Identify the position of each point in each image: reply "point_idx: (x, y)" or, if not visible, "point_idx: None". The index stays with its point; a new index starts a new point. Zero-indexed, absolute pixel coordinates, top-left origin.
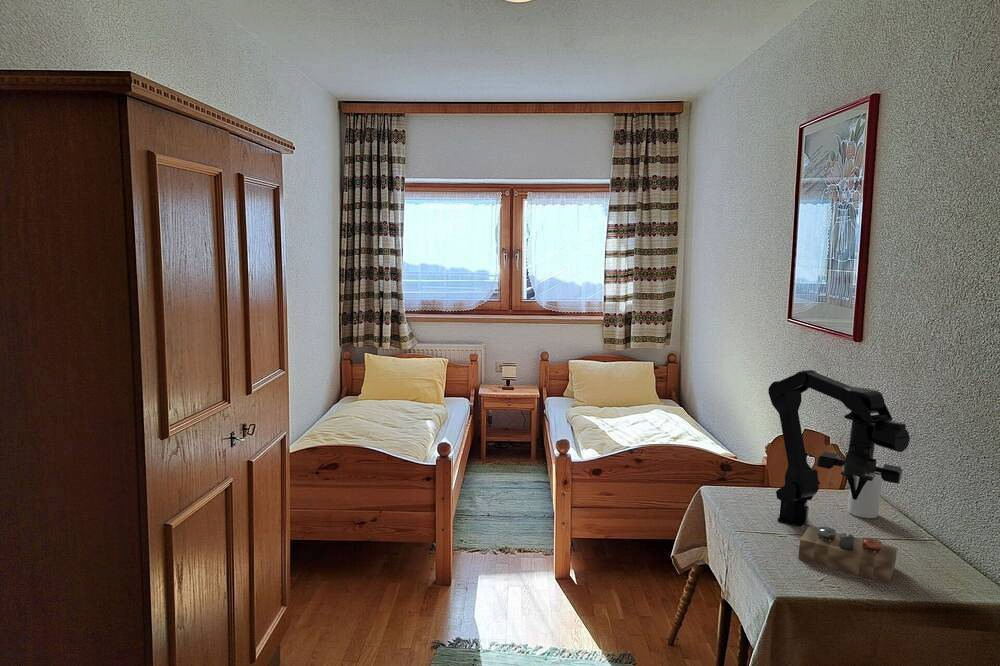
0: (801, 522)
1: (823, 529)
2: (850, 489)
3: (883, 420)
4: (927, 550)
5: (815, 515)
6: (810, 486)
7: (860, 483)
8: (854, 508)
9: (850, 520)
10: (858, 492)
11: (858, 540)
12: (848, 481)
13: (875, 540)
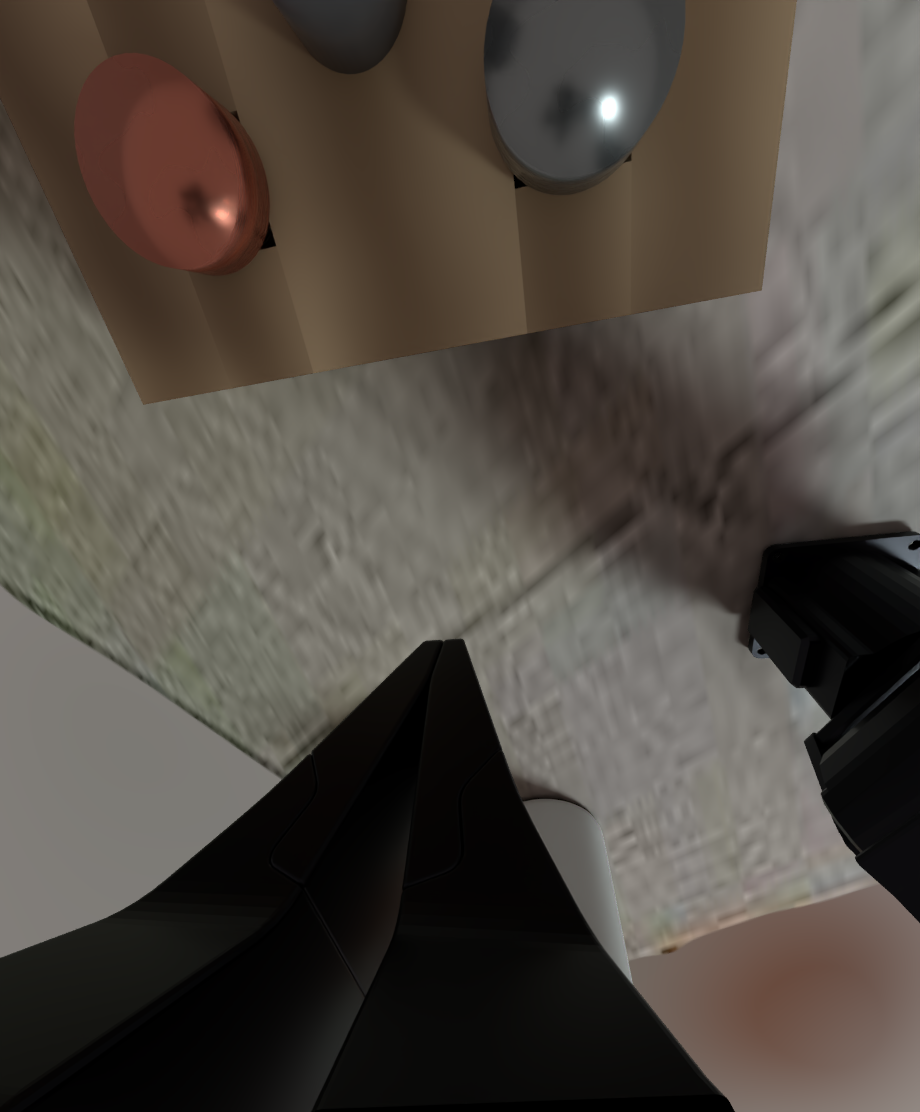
0: (777, 580)
1: (621, 20)
2: (618, 932)
3: None
4: (252, 675)
5: (713, 722)
6: None
7: (269, 867)
8: (573, 830)
9: (567, 757)
10: (373, 706)
11: (354, 318)
12: (540, 854)
13: (155, 226)
